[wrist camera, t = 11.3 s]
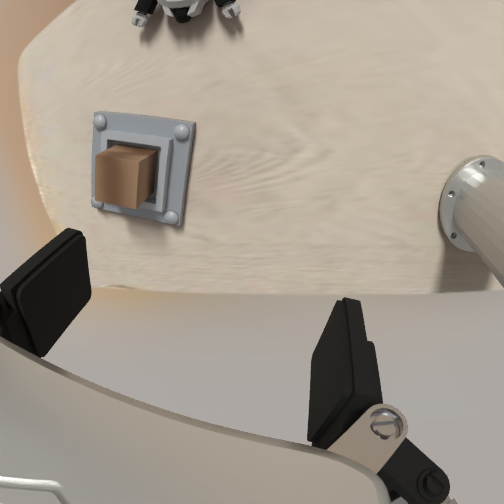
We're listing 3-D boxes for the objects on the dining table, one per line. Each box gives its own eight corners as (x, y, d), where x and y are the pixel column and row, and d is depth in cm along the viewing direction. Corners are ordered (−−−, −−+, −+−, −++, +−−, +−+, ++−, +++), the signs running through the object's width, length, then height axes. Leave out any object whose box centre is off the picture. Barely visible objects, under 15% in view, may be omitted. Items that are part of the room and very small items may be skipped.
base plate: (195, 122, 32) (189, 125, 30) (182, 221, 38) (176, 230, 36) (99, 111, 32) (88, 113, 30) (96, 203, 38) (87, 210, 36)
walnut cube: (157, 150, 33) (138, 161, 29) (153, 192, 35) (135, 209, 31) (118, 144, 33) (95, 155, 28) (115, 185, 35) (94, 200, 31)
